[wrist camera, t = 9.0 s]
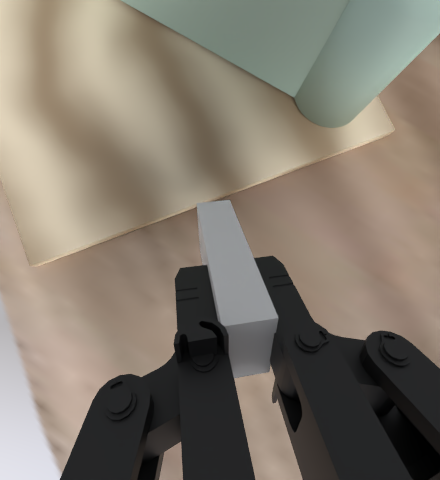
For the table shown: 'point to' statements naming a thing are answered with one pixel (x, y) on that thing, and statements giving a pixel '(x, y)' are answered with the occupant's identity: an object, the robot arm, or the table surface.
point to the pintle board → (136, 124)
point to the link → (309, 44)
